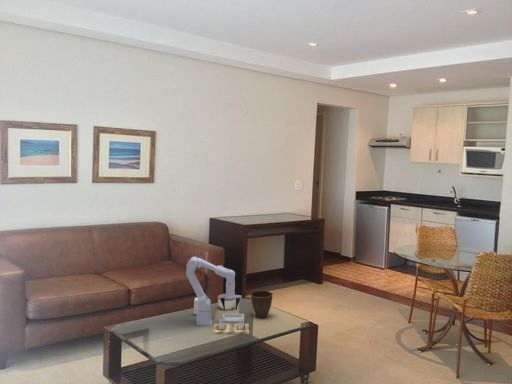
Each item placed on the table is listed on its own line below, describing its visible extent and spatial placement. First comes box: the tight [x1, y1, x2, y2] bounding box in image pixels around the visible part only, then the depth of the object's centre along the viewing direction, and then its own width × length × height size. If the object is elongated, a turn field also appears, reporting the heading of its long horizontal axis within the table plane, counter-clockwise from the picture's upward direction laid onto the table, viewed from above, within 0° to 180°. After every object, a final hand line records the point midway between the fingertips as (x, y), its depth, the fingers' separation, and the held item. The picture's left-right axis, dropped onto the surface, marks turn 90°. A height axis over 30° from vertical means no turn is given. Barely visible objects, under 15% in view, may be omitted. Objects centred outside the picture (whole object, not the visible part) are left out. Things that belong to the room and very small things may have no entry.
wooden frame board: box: [212, 323, 250, 335], centre depth 302 cm, size 22×14×2 cm, turn 92°
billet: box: [218, 318, 226, 330], centre depth 302 cm, size 4×6×6 cm, turn 2°
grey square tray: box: [222, 313, 245, 324], centre depth 318 cm, size 14×14×2 cm
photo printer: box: [193, 296, 200, 315], centre depth 330 cm, size 10×4×12 cm, turn 98°
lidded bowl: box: [217, 293, 236, 311], centre depth 343 cm, size 13×13×11 cm
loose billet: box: [237, 318, 245, 330], centre depth 302 cm, size 4×6×6 cm, turn 2°
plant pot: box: [250, 290, 274, 319], centre depth 327 cm, size 15×15×16 cm
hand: (230, 309), depth 313 cm, fingers open, 7 cm apart
